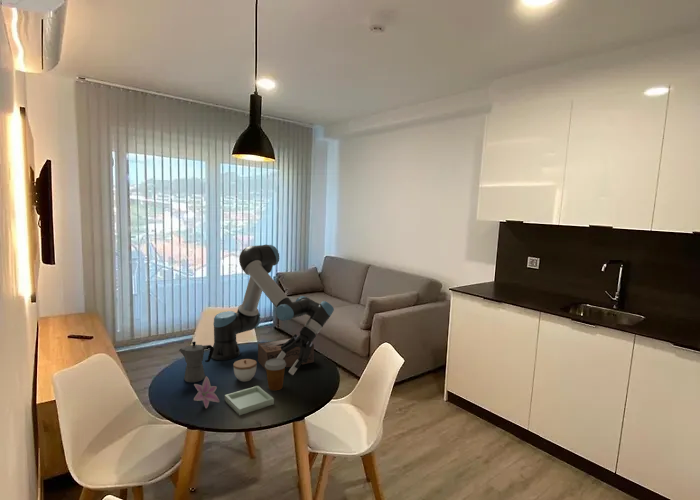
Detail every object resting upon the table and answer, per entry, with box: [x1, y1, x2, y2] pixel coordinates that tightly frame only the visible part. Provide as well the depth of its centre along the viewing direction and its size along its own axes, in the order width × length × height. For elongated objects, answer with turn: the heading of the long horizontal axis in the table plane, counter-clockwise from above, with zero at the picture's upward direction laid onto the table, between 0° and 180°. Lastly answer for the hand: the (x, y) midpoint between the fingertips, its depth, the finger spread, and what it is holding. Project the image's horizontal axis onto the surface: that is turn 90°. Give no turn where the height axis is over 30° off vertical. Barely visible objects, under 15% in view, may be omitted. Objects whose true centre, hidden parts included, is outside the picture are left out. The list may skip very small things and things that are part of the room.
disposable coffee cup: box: [265, 359, 286, 391], centre depth 178 cm, size 10×10×12 cm
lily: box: [193, 375, 220, 409], centre depth 163 cm, size 12×12×10 cm
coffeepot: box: [178, 341, 214, 383], centre depth 186 cm, size 15×9×18 cm, turn 110°
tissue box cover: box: [257, 338, 315, 371], centre depth 209 cm, size 26×14×10 cm, turn 120°
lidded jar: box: [233, 358, 258, 382], centre depth 187 cm, size 11×11×9 cm
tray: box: [224, 385, 275, 416], centre depth 164 cm, size 15×15×2 cm
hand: (282, 368), depth 179 cm, fingers open, 13 cm apart
